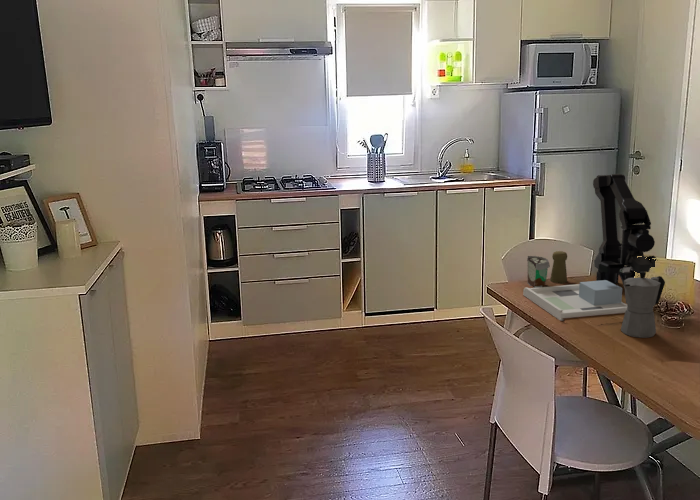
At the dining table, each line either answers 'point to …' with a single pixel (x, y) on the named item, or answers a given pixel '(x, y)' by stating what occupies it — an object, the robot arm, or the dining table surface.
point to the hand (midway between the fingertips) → (627, 290)
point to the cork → (559, 267)
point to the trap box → (568, 302)
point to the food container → (537, 271)
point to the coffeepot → (641, 305)
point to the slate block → (600, 292)
